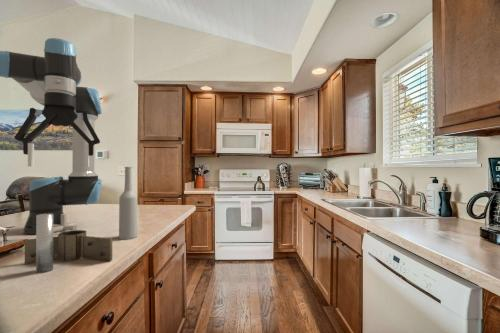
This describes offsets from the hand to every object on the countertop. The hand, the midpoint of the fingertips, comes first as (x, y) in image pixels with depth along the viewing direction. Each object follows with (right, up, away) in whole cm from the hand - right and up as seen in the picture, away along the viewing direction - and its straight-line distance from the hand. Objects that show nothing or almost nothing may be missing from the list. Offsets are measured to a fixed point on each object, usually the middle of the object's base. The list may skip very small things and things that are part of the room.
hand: (60, 166), depth 77 cm
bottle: (+7, -28, +27) cm, 40 cm away
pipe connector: (-15, -28, +22) cm, 39 cm away
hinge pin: (0, -28, -6) cm, 29 cm away
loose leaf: (+10, -28, +2) cm, 30 cm away
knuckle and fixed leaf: (-3, -28, +2) cm, 28 cm away
